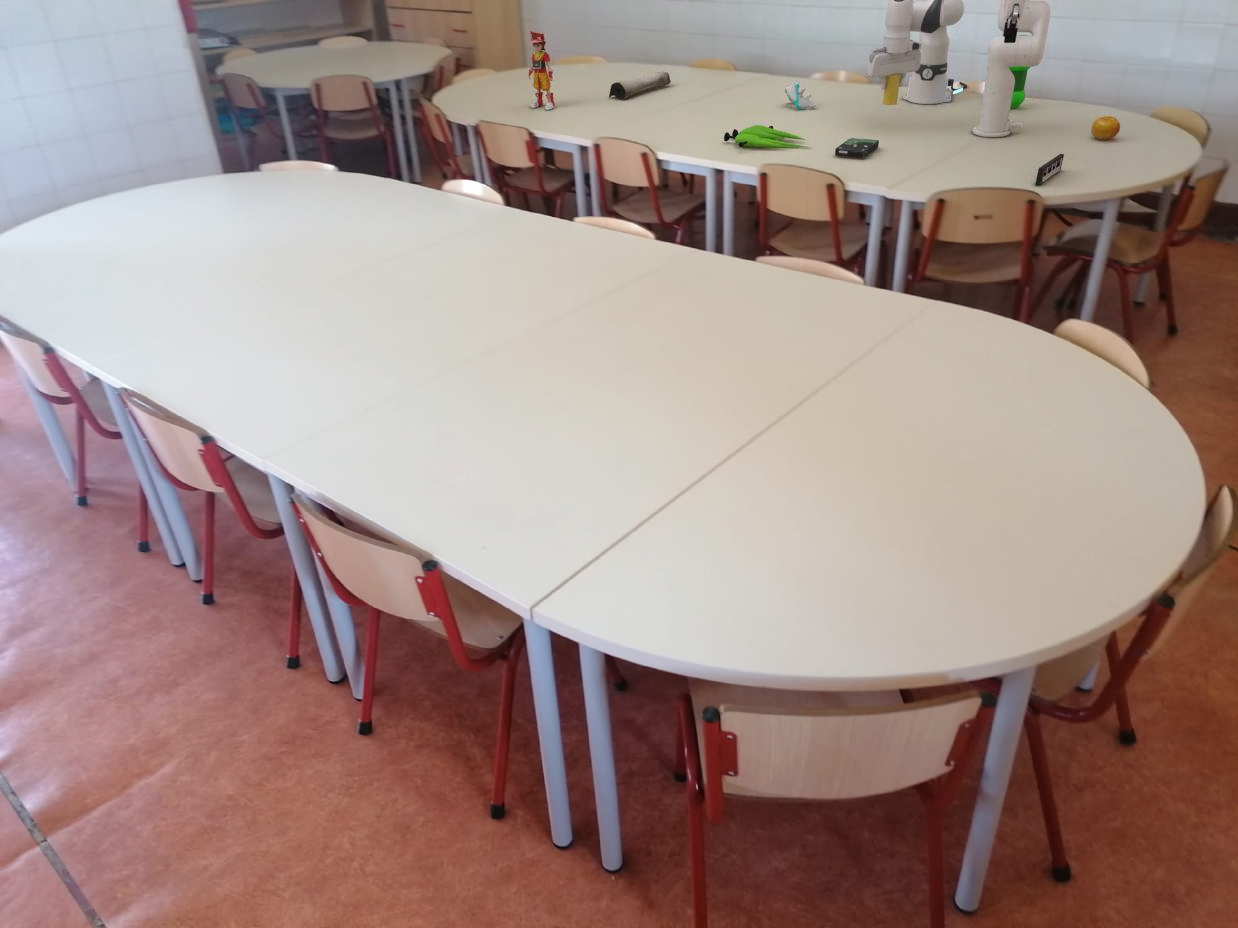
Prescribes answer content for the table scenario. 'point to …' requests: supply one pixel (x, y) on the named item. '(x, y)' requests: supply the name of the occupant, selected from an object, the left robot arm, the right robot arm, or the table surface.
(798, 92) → the anatomical model
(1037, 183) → the midi keyboard
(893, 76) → the tin
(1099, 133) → the fruit
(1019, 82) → the green dumbbell
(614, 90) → the rolled mat
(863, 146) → the disk drive
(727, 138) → the toy
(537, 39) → the toy
